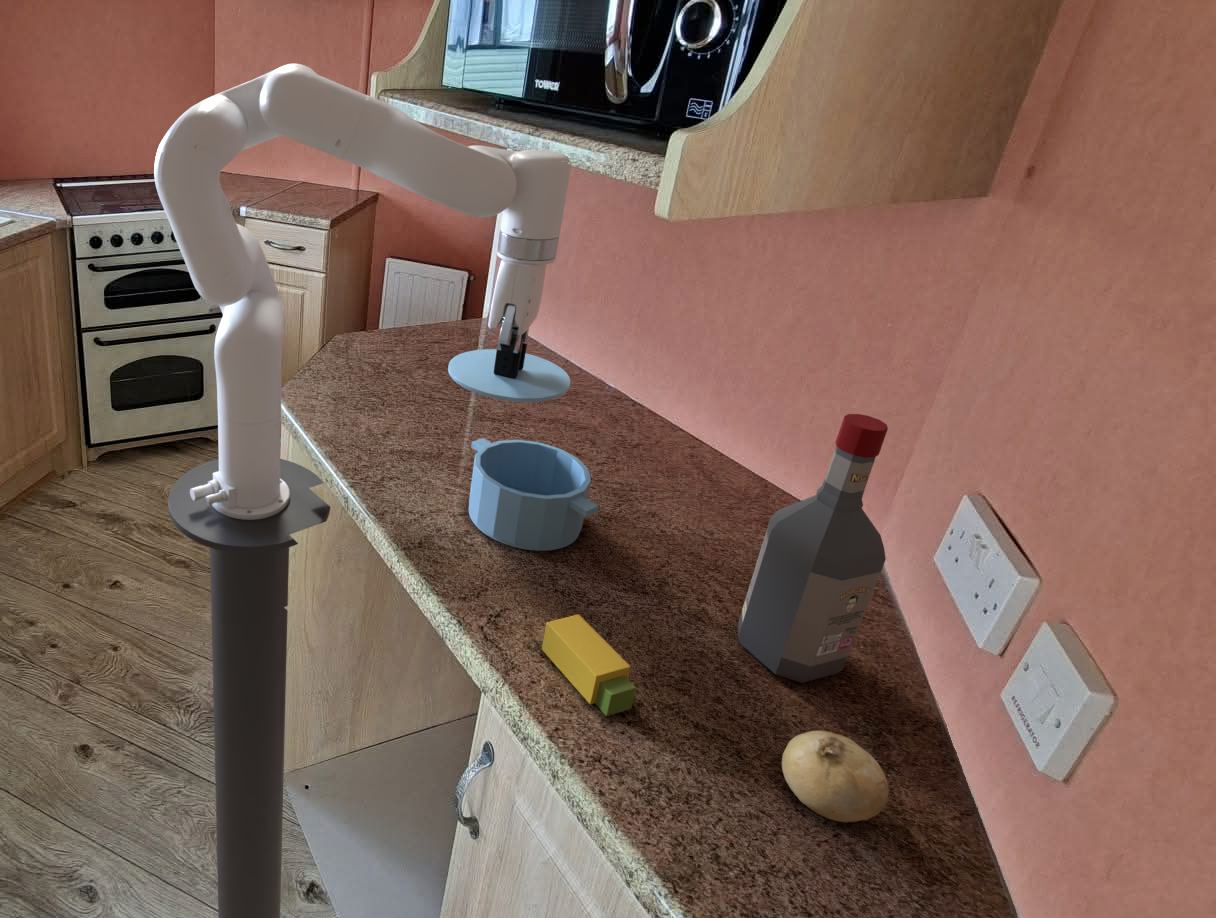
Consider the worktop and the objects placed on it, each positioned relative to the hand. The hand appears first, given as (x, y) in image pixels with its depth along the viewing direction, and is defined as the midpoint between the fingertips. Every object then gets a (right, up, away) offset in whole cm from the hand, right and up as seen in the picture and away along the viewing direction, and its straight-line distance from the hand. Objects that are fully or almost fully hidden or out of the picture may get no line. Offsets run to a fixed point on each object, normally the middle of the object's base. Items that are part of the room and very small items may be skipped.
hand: (508, 370), depth 113 cm
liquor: (+26, -32, -21) cm, 46 cm away
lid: (0, -1, 0) cm, 1 cm away
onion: (+18, -39, -38) cm, 58 cm away
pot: (+3, -22, +3) cm, 22 cm away
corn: (+1, -33, -24) cm, 41 cm away
